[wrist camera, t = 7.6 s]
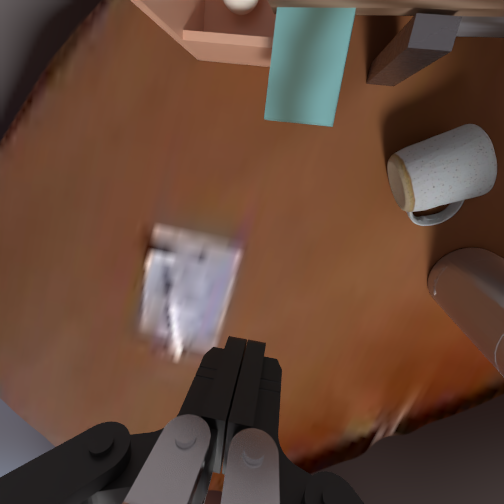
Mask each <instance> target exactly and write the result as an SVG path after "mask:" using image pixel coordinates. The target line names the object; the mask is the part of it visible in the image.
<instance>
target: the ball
mask: <svg viewBox="0 0 504 504" xmlns="http://www.w3.org/2000/svg"><path fill="white" fill-rule="evenodd" d="M223 1H224V3H225V5H226V6H227V8H228V9H229V10H230V11H231V12H233V13H235V14H237V15H245V14H248V13H250V12H251V11H252V10H253V9H254V8H255V7H256V5H257V3H258V1H259V0H223Z"/></svg>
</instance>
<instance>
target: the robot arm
mask: <svg viewBox="0 0 504 504" xmlns="http://www.w3.org/2000/svg"><path fill="white" fill-rule="evenodd" d="M428 289H429V293H430V294H431V296H432V298H433V299H434V300H435V301H436V302H437V303H438V304H439V305H440V307H441V308H442V309H443V310H444V311H445V312H446V313H447V314H448V316H449V317H450V318H451V319H452V320H453V321H454V322H455V323H456V324H457V326H458V327H459V328H460V329H461V330H462V331H463V332H464V333H465V334H466V336H467V337H468V338H469V339H470V340H471V341H472V342H473V343H474V344H475V346H476V347H477V348H478V349H479V350H480V351H481V352H482V353H483V354H484V355H485V357H486V358H487V359H488V360H489V361H490V362H491V363H492V364H493V365H494V367H495V368H496V369H497V370H498V371H499V372H500V373H501V374H502V375H503V376H504V258H502V257H500V256H498V255H496V254H494V253H492V252H491V251H488V250H485V249H482V248H463V249H459V250H456V251H453V252H451V253H449V254H447V255H446V256H444V257H443V258H441V259H440V260H439V261H438V262H437V263H436V264H435V266H434V267H433V268H432V270H431V272H430V274H429V278H428ZM246 344H247V346H246ZM265 346H266V343H263V342H258V341H253V340H248V342H247V339H242V338H236V337H231V336H229V337H228V340H227V343H226V346H225V348H224V349H222V348H217V347H213V348H212V349H210V350H209V351H208V352H207V353H206V354H205V355H204V357H203V359H202V361H201V364H200V366H199V368H198V371H197V373H196V376H195V377H194V380H193V382H192V384H191V387H190V389H189V391H188V393H187V396H186V398H185V400H184V403H183V405H182V407H181V409H180V412H179V414H178V415H177V417H176V418H174V419H173V420H171V421H170V422H169V423H168V424H167V425H166V426H165V428H163V429H161V430H158V431H155V432H150V433H142V434H133V435H130V434H129V431H128V429H127V428H126V427H125V426H124V425H123V424H121V423H118V422H105V423H101V424H98V425H96V426H94V427H92V428H90V429H88V430H86V431H85V432H83V433H81V434H79V435H77V436H75V437H74V438H72V439H70V440H68V441H66V442H64V443H63V444H61V445H59V446H57V447H55V448H54V449H52V450H50V451H48V452H46V453H44V454H42V455H41V456H39V457H37V458H35V459H33V460H31V461H30V462H28V463H26V464H24V465H22V466H21V467H18V468H17V469H15V470H13V471H11V472H9V473H8V474H6V475H4V476H2V477H0V504H204V502H205V497H206V494H207V492H208V488H209V484H210V480H211V476H212V472H216V473H220V471H221V466H222V462H223V469H222V474H225V479H224V486H223V492H222V499H221V504H364V503H363V502H362V500H361V499H360V497H359V496H358V495H357V493H356V492H355V491H354V490H353V488H352V487H351V486H350V485H349V483H348V482H346V481H345V480H344V479H343V478H341V477H340V476H338V475H336V474H334V473H331V472H318V473H316V474H314V475H313V476H312V475H310V474H309V473H307V472H306V471H304V470H302V469H301V468H299V467H297V466H296V465H295V464H293V463H292V462H291V461H290V460H289V459H288V458H287V457H286V456H285V454H284V453H283V451H282V449H281V447H280V444H279V439H278V426H279V409H280V392H281V376H282V369H281V367H280V365H279V362H278V360H277V359H274V358H269V357H264V352H265ZM223 458H224V461H223Z"/></svg>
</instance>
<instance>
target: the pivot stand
mask: <svg viewBox="0 0 504 504" xmlns="http://www.w3.org/2000/svg"><path fill="white" fill-rule="evenodd" d="M461 19H462V16H450V15H436V14H422V13H416V14H415V16H414V17H413V18H412V19H411V20H410V21H409V22H408V23H407V24H406V25H405V26H404V28H403V29H402V30H401V31H400V32H399V33H398V34H397V35H396V36H395V37H394V39H393V40H392V41H391V42H390V43H389V44H388V45H387V46H386V47H385V48H384V49H383V51H382V52H381V53H380V54H379V55H378V56H377V57H376V58H375V59H374V60H373V62H372V63H371V66H370V71H369V75H368V79H367V84H376V85H386V86H395V85H397V84H398V83H400V82H402V81H403V80H405V79H407V78H408V77H410V76H411V75H413V74H415V73H416V72H418V71H420V70H421V69H423V68H425V67H426V66H428V65H430V64H431V63H433V62H435V61H436V60H438V59H439V58H441V57H443V56H444V55H446V54H448V53H449V52H451V51H452V48H453V45H454V41H455V38H456V35H457V32H458V29H459V26H460V22H461Z"/></svg>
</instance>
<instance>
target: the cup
mask: <svg viewBox="0 0 504 504" xmlns="http://www.w3.org/2000/svg"><path fill="white" fill-rule="evenodd" d="M131 1H132V2H133V3H134V4H135V5H136V6H138V7H139V8H140V9H141V10H142V11H143V12H144V13H145V14H147V15H148V16H149V17H150V18H151V19H152V20H153V21H155V22H156V23H157V24H158V25H159V26H160V27H161V28H162V29H164V30H165V31H166V32H167V33H168V34H169V35H170V36H171V37H173V38H174V39H175V40H176V41H177V42H178V43H179V44H181V45H182V46H183V47H184V48H185V49H186V50H187V51H188V52H190V53H191V54H192V55H193V56H194V57H195V58H196V59H198V60H202V61H212V62H223V63H233V64H244V65H254V66H265V67H270V63H271V55H272V46H273V38H274V29H275V21H276V14H274V13H273V11H272V8H271V6H270V4H269V2H268V0H259V1H258V3H257V5H256V7H255V8H254V9H253V10H252V11H251V12H250V13H248V14H245V15H237V14H235V13H233V12H231V11H230V10H229V9H228V8H227V6H226V5H225V3H224V1H223V0H131Z"/></svg>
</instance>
